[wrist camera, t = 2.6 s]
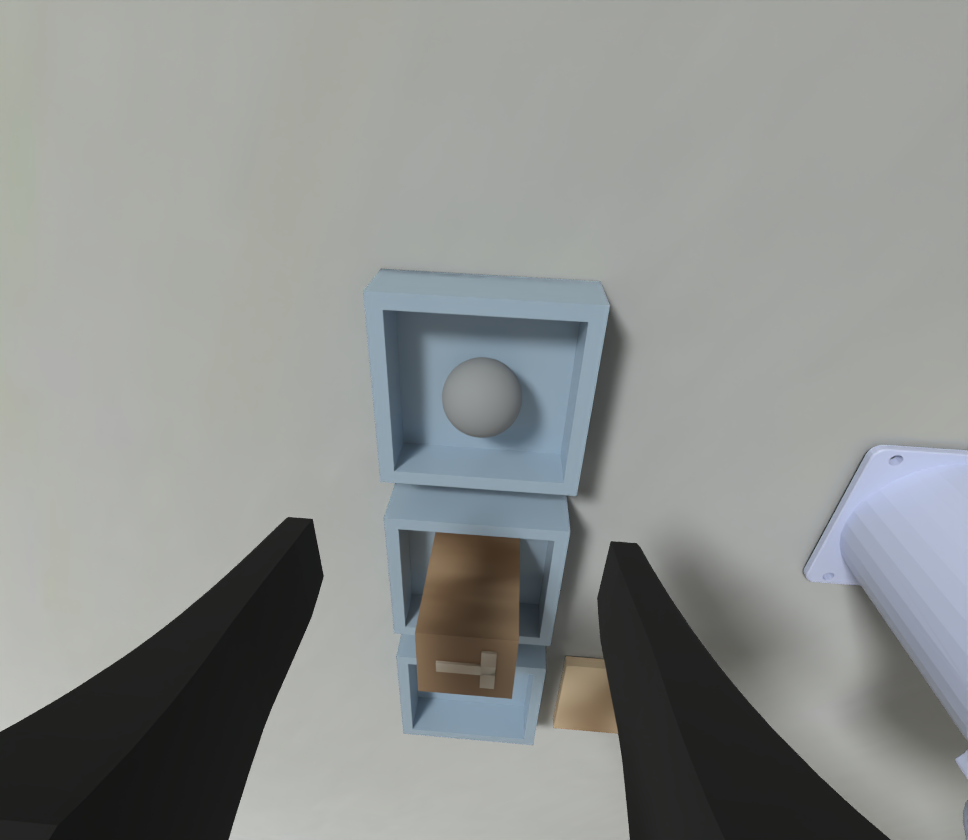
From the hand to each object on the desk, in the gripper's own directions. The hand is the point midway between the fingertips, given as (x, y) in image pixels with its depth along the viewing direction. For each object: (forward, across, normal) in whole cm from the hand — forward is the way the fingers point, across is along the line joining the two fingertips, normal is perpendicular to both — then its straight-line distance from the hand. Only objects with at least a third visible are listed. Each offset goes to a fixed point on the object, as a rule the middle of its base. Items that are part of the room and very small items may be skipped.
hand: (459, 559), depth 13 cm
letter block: (+9, 0, +10) cm, 14 cm away
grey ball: (+9, 0, 0) cm, 9 cm away
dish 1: (+10, 0, 0) cm, 10 cm away
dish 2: (+10, 0, +10) cm, 14 cm away
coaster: (+10, -9, +22) cm, 26 cm away
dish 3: (+10, 0, +20) cm, 22 cm away
